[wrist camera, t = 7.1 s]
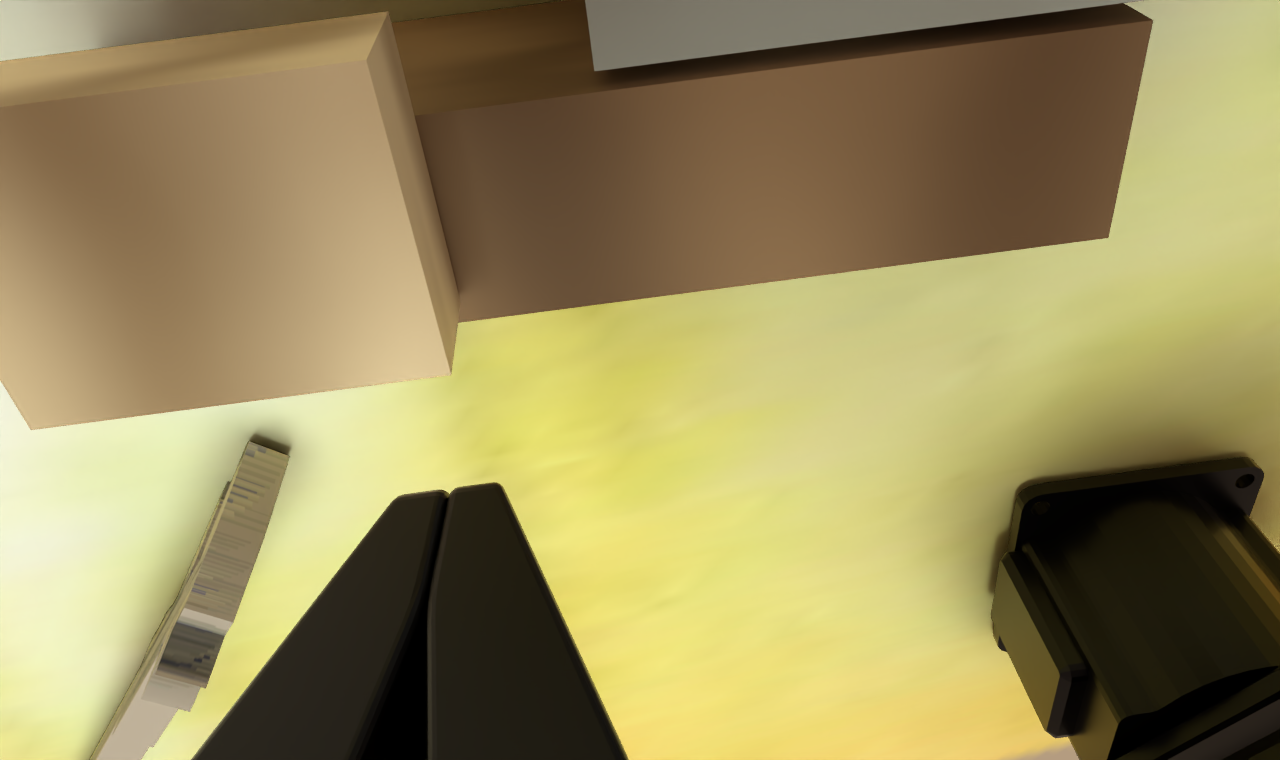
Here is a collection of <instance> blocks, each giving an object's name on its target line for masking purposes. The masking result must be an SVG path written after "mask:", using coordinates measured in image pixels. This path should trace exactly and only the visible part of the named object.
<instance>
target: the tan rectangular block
mask: <svg viewBox="0 0 1280 760" xmlns="http://www.w3.org/2000/svg"><path fill="white" fill-rule="evenodd" d="M460 303H461V301H460V297H459V293H458V289H457V285H456V281H455V277H454V273H453V269H452V265H451V261H450V257H449V253H448V249H447V245H446V241H445V237H444V233H443V229H442V225H441V221H440V217H439V213H438V209H437V205H436V201H435V197H434V193H433V189H432V185H431V180H430V176H429V172H428V168H427V164H426V160H425V156H424V152H423V148H422V144H421V140H420V136H419V132H418V128H417V124H416V120H415V116H414V112H413V108H412V104H411V100H410V96H409V92H408V88H407V84H406V80H405V76H404V72H403V68H402V64H401V60H400V56H399V52H398V48H397V43H396V39H395V35H394V31H393V27H392V23H391V19H390V15H389V11H387V12H379V13H371V14H363V15H356V16H348V17H340V18H332V19H325V20H317V21H309V22H301V23H293V24H286V25H278V26H270V27H262V28H255V29H247V30H239V31H231V32H224V33H216V34H208V35H200V36H192V37H185V38H177V39H169V40H161V41H154V42H146V43H138V44H130V45H123V46H115V47H107V48H99V49H91V50H84V51H76V52H68V53H60V54H53V55H45V56H37V57H29V58H22V59H14V60H6V61H0V380H1V382H2V384H3V385H4V387H5V389H6V390H7V392H8V393H9V395H10V397H11V398H12V400H13V402H14V403H15V405H16V407H17V408H18V410H19V411H20V413H21V415H22V416H23V418H24V420H25V421H26V423H27V425H28V426H29V428H30V429H31V430H35V429H43V428H50V427H58V426H66V425H73V424H81V423H89V422H96V421H104V420H111V419H119V418H127V417H134V416H142V415H150V414H157V413H165V412H173V411H180V410H188V409H195V408H203V407H211V406H218V405H226V404H234V403H241V402H249V401H257V400H264V399H272V398H279V397H287V396H295V395H302V394H310V393H318V392H325V391H333V390H341V389H348V388H356V387H364V386H371V385H379V384H386V383H394V382H402V381H409V380H417V379H425V378H432V377H440V376H448V375H451V372H452V364H453V357H454V349H455V341H456V333H457V326H458V318H459V310H460Z"/></svg>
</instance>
